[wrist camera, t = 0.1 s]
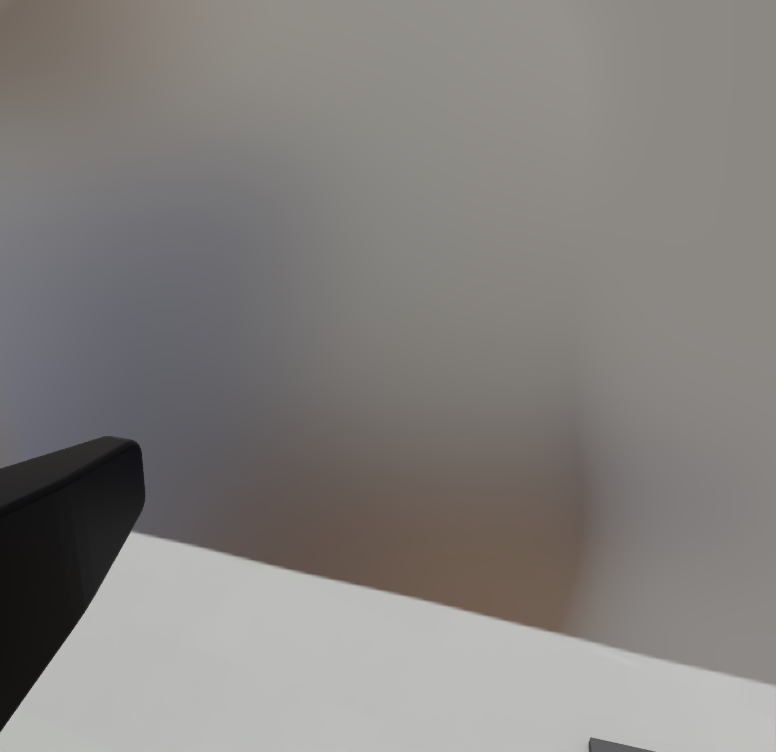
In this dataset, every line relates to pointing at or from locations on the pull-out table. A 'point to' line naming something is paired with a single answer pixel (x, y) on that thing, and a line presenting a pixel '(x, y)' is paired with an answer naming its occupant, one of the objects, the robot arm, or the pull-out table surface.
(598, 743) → the mat
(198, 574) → the pull-out table surface
